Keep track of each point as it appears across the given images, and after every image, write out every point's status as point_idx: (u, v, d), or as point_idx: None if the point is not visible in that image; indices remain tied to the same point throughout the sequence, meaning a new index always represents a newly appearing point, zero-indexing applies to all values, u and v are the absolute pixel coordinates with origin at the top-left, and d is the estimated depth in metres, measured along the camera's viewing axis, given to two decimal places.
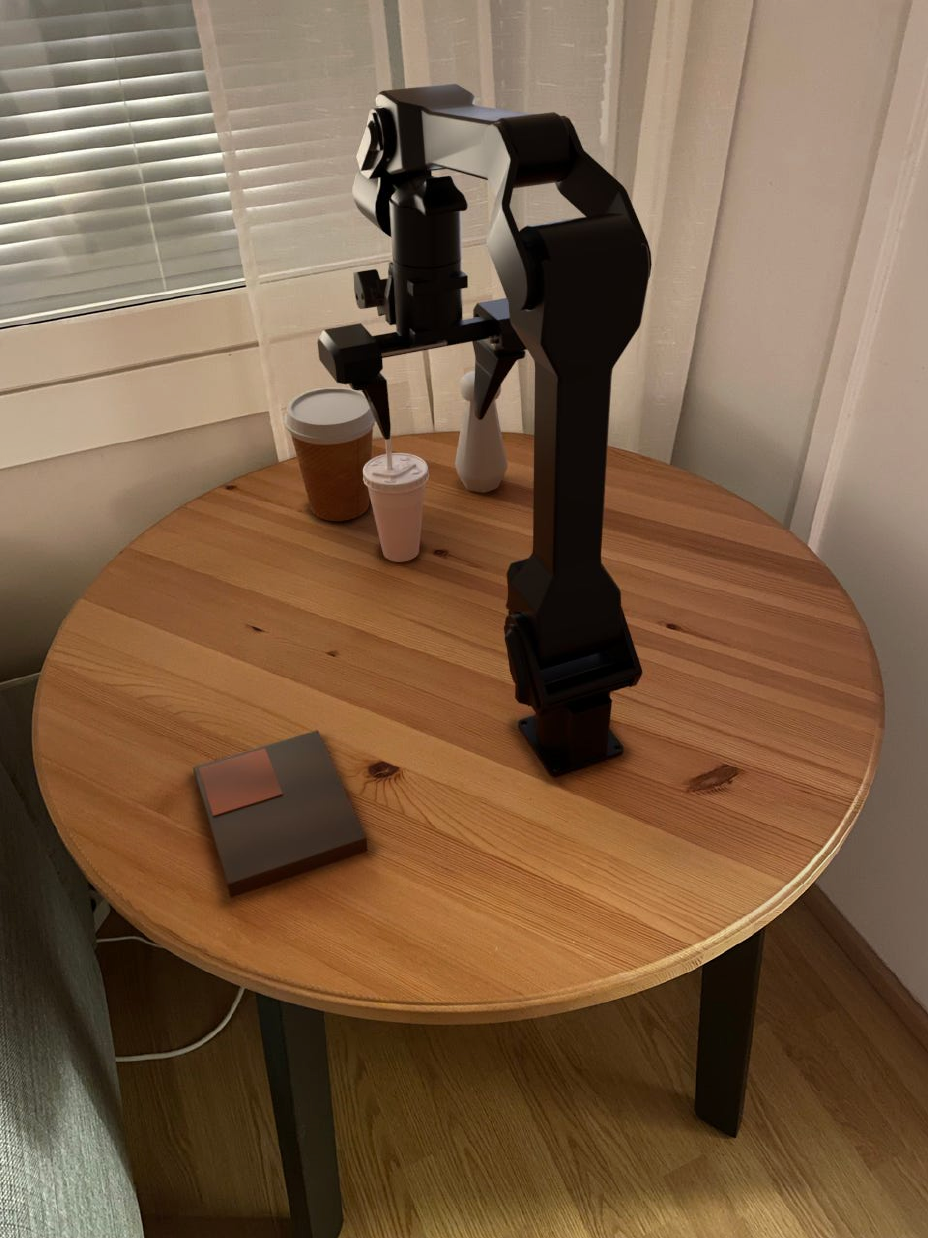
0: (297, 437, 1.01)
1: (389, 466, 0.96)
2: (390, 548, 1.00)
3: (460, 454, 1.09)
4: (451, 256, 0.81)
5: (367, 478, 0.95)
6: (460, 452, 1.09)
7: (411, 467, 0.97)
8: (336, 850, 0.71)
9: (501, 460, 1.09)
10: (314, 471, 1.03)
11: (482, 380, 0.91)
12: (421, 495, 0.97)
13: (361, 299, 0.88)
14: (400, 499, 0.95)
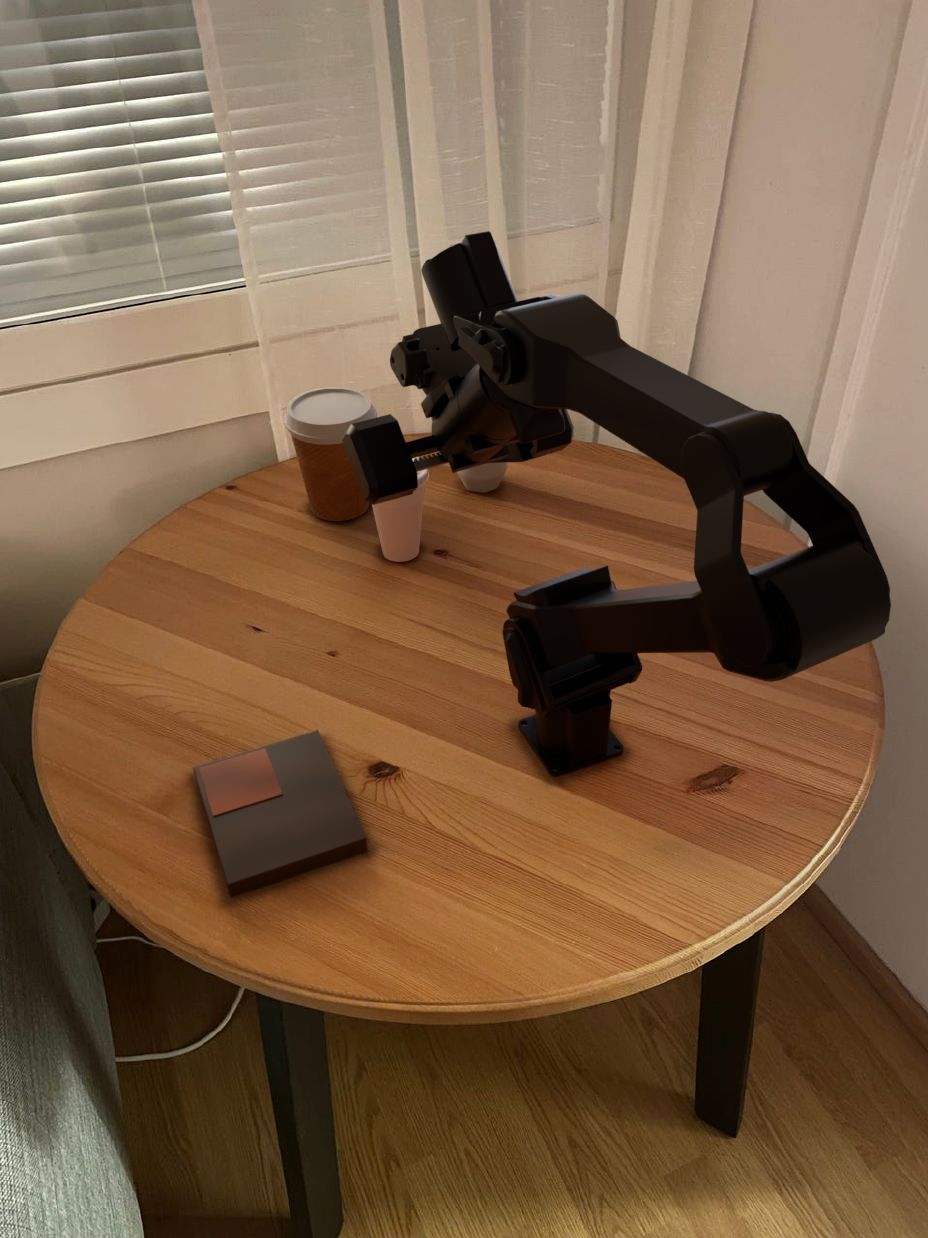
0: (297, 437, 1.01)
1: None
2: (390, 548, 1.00)
3: None
4: None
5: None
6: None
7: None
8: (336, 850, 0.71)
9: None
10: (314, 471, 1.03)
11: None
12: (421, 495, 0.97)
13: (400, 375, 0.77)
14: (400, 499, 0.95)
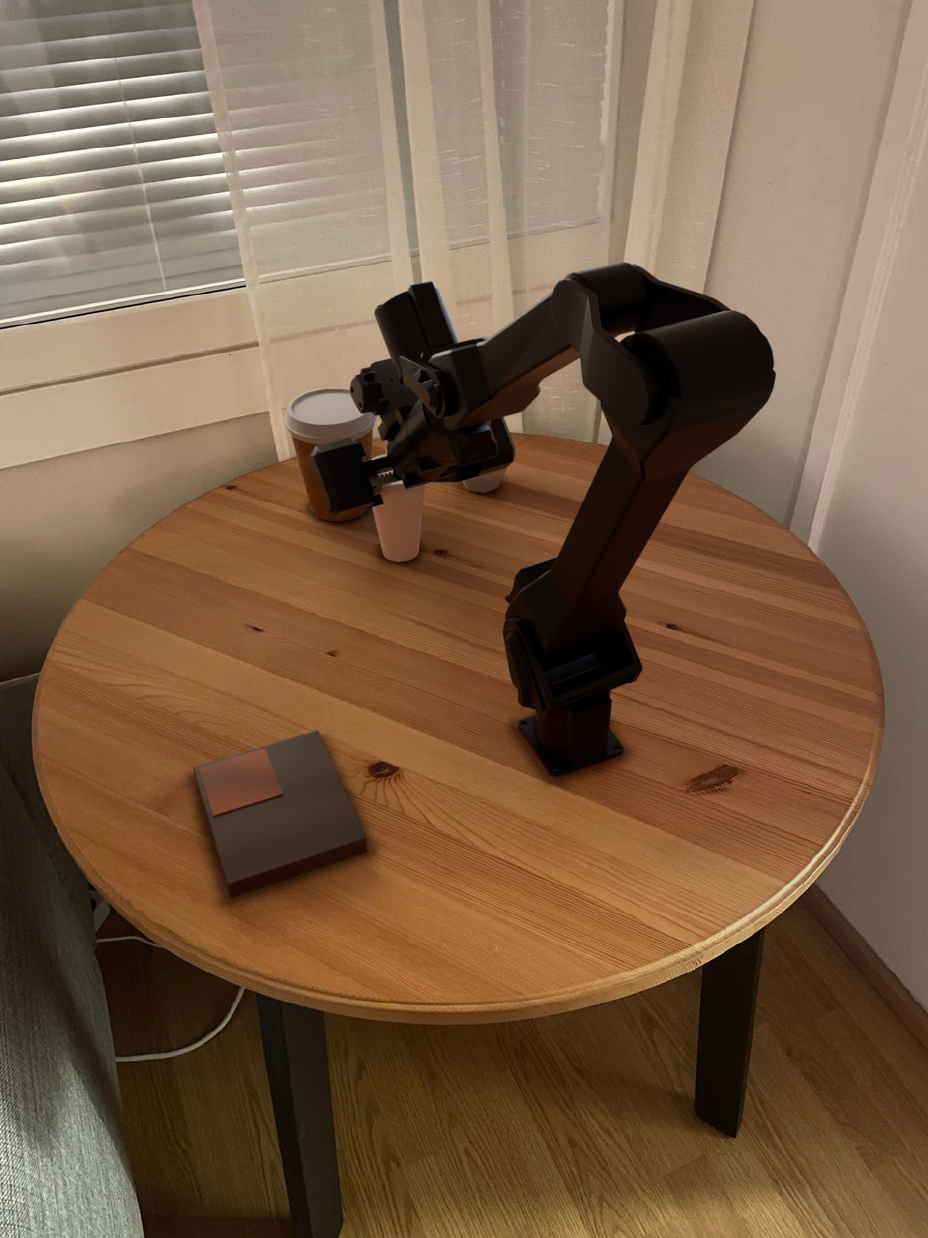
0: (297, 437, 1.01)
1: None
2: (390, 548, 1.00)
3: None
4: None
5: None
6: None
7: None
8: (336, 850, 0.71)
9: None
10: None
11: None
12: (421, 495, 0.97)
13: (358, 403, 0.88)
14: (400, 499, 0.95)
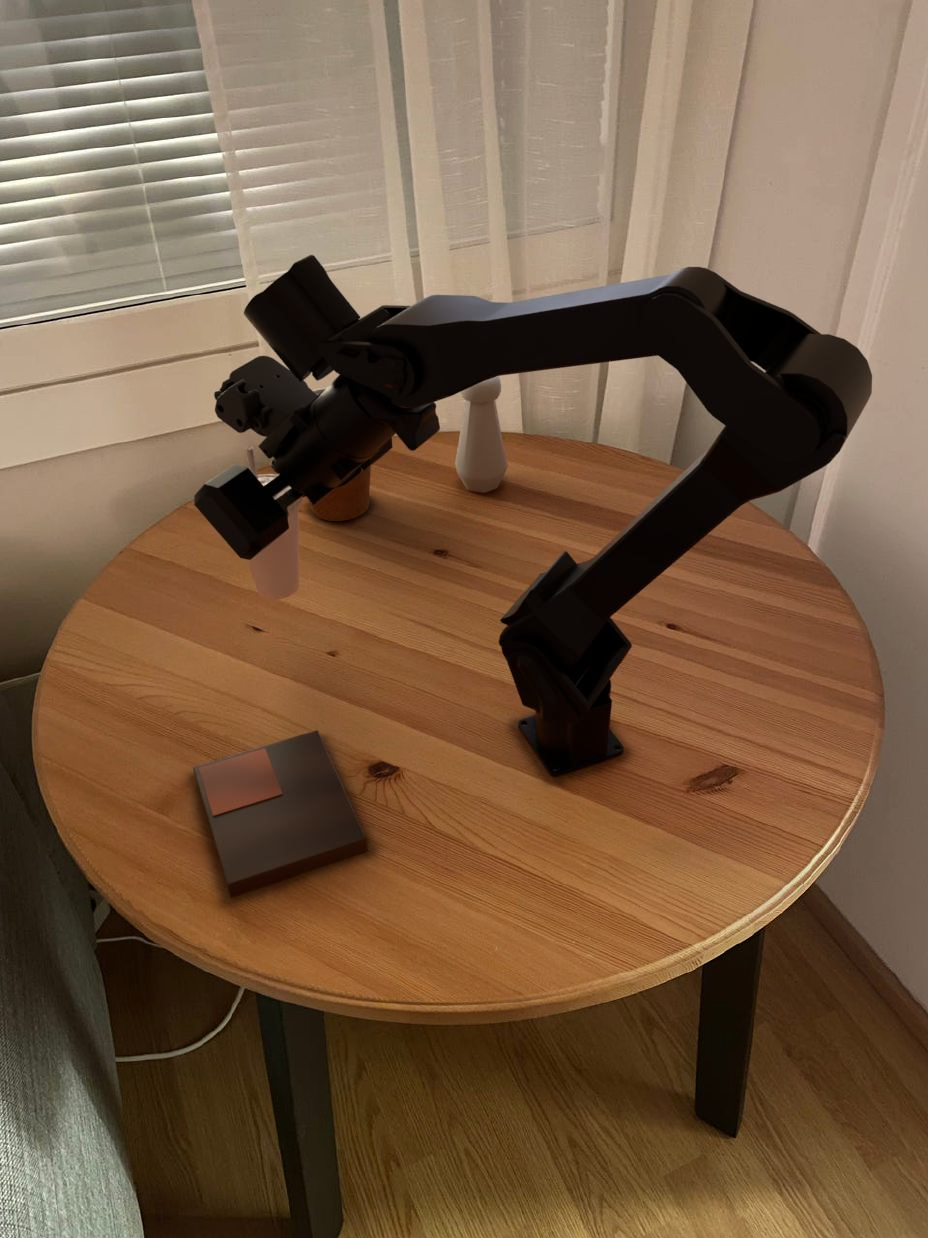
0: None
1: None
2: (274, 585, 0.86)
3: (460, 454, 1.09)
4: None
5: None
6: (460, 452, 1.09)
7: None
8: (336, 850, 0.71)
9: (501, 460, 1.09)
10: None
11: None
12: (298, 514, 0.85)
13: (235, 422, 0.74)
14: None
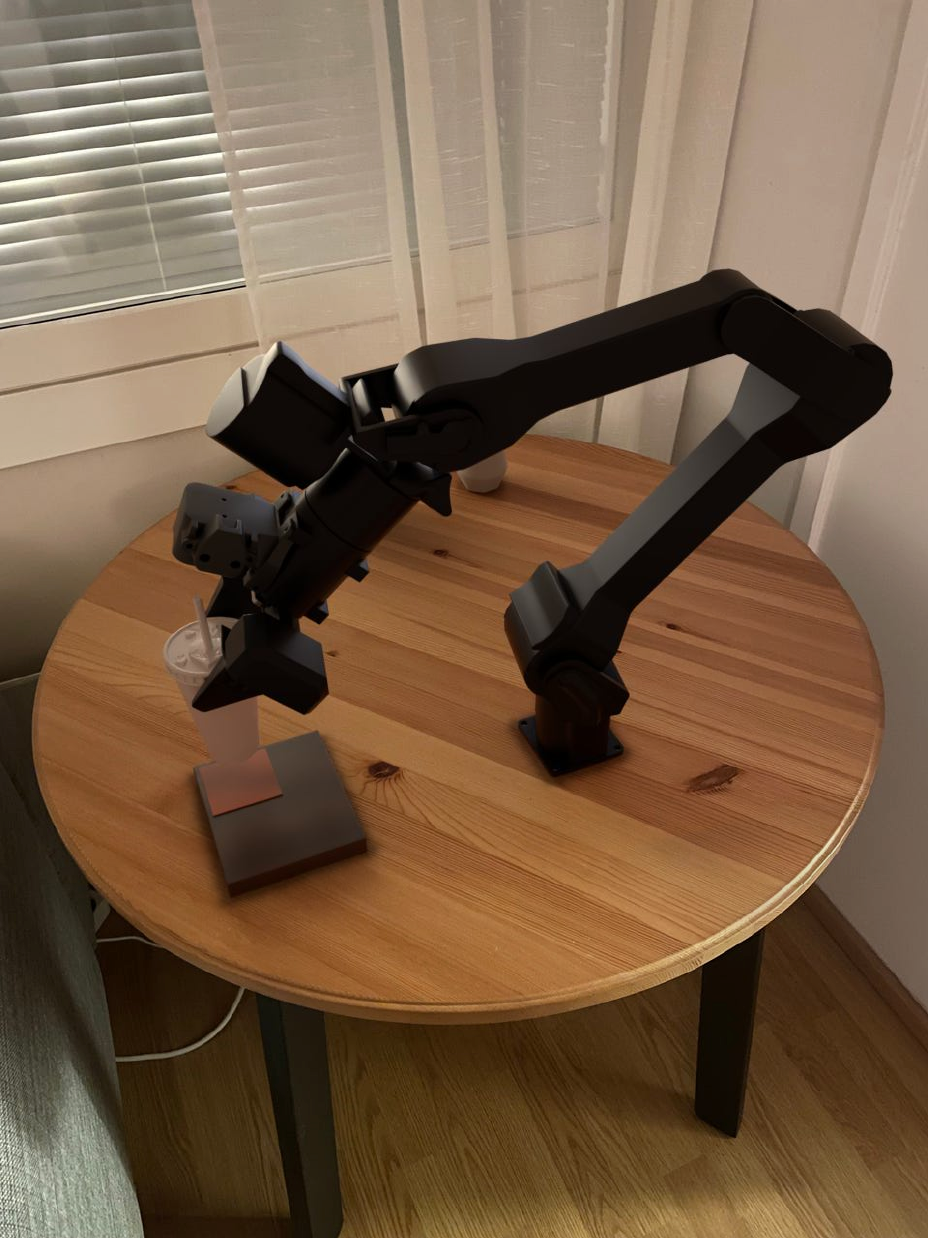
0: None
1: (211, 645, 0.67)
2: (248, 743, 0.71)
3: None
4: None
5: None
6: None
7: (218, 630, 0.69)
8: (336, 850, 0.71)
9: (501, 460, 1.09)
10: None
11: (236, 612, 0.71)
12: None
13: (228, 567, 0.59)
14: None
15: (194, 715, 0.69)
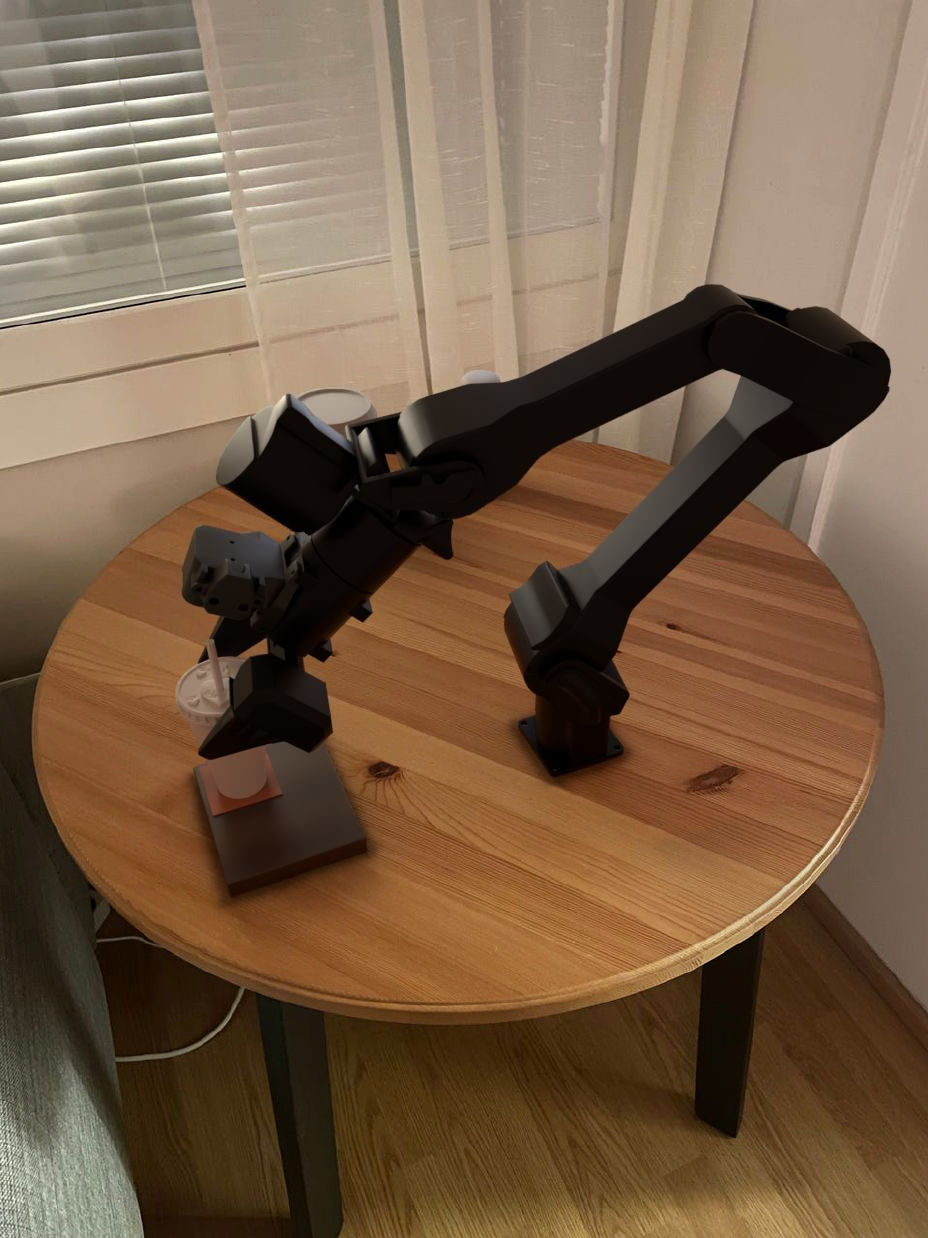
0: None
1: (223, 686, 0.69)
2: (256, 778, 0.74)
3: None
4: None
5: None
6: None
7: (228, 670, 0.71)
8: (336, 850, 0.71)
9: None
10: None
11: (241, 636, 0.74)
12: None
13: (236, 610, 0.61)
14: None
15: None
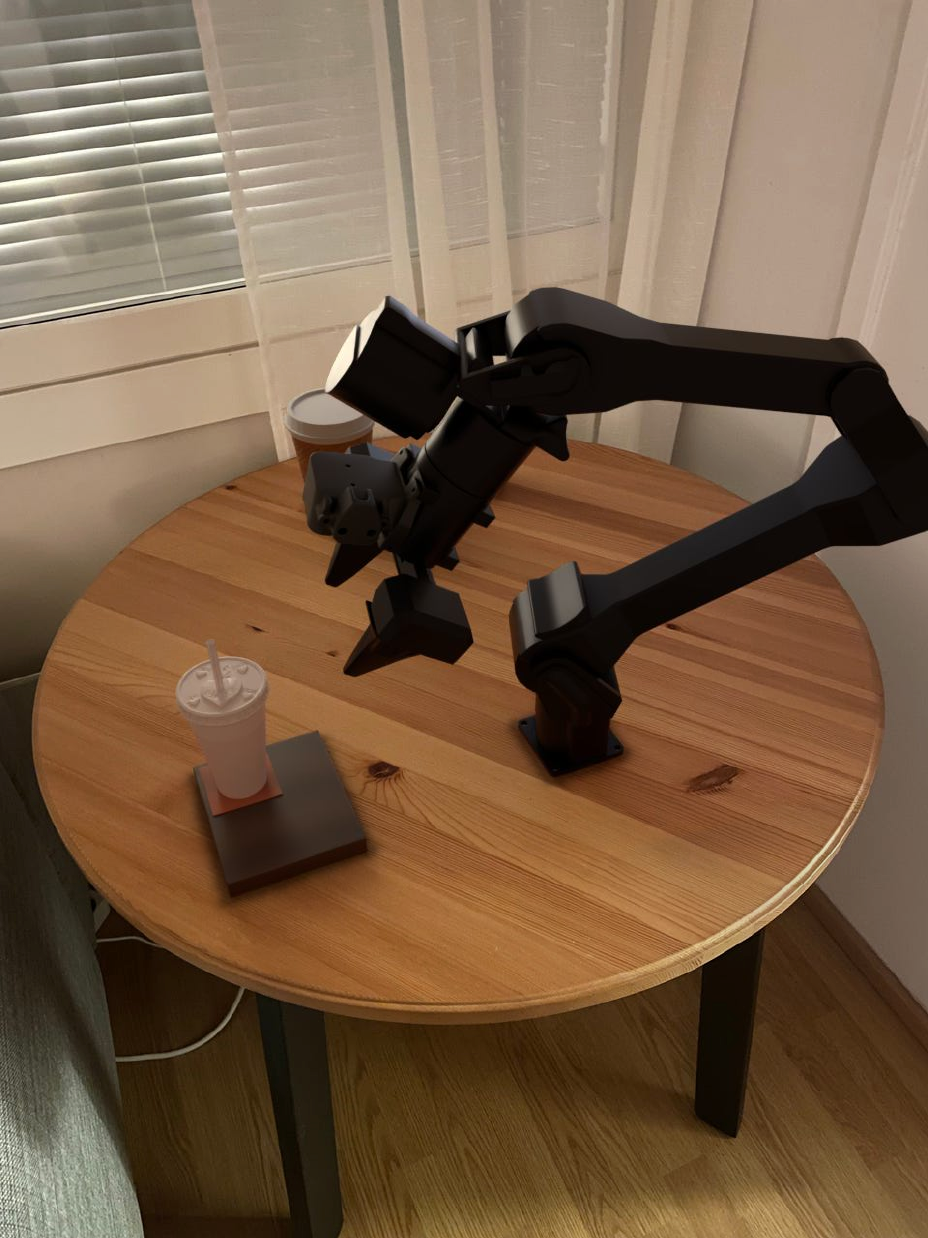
0: (297, 437, 1.01)
1: (223, 686, 0.69)
2: (256, 778, 0.74)
3: None
4: None
5: (227, 714, 0.68)
6: None
7: (228, 670, 0.71)
8: (336, 850, 0.71)
9: None
10: None
11: (363, 549, 0.74)
12: None
13: (365, 536, 0.62)
14: (263, 706, 0.71)
15: (205, 752, 0.71)
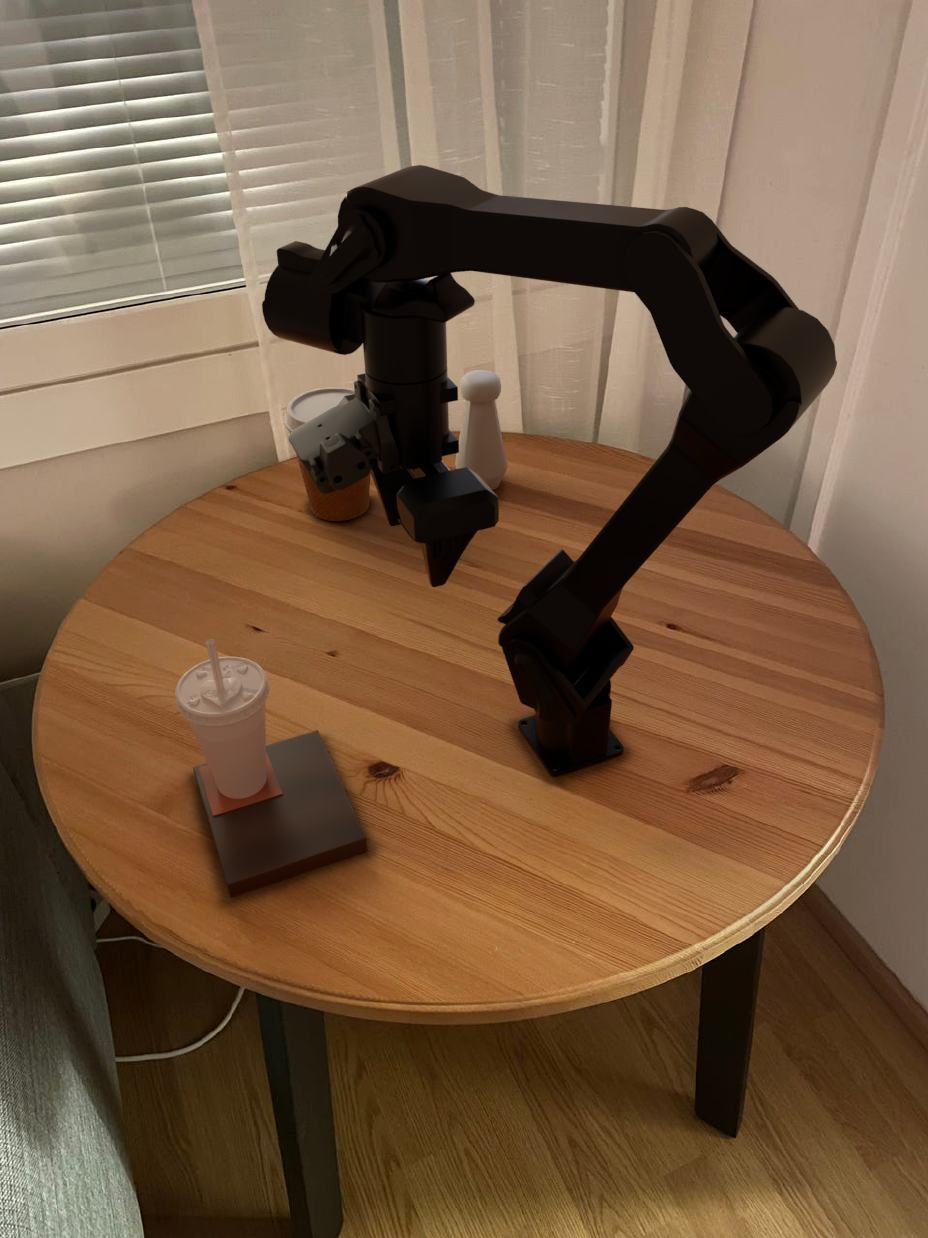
0: None
1: (223, 685, 0.69)
2: (256, 778, 0.74)
3: (460, 454, 1.09)
4: (445, 360, 0.69)
5: (227, 714, 0.68)
6: (460, 452, 1.09)
7: (229, 670, 0.71)
8: (336, 850, 0.71)
9: (501, 460, 1.09)
10: None
11: (398, 480, 0.80)
12: None
13: (358, 471, 0.68)
14: (263, 706, 0.71)
15: (205, 752, 0.71)
